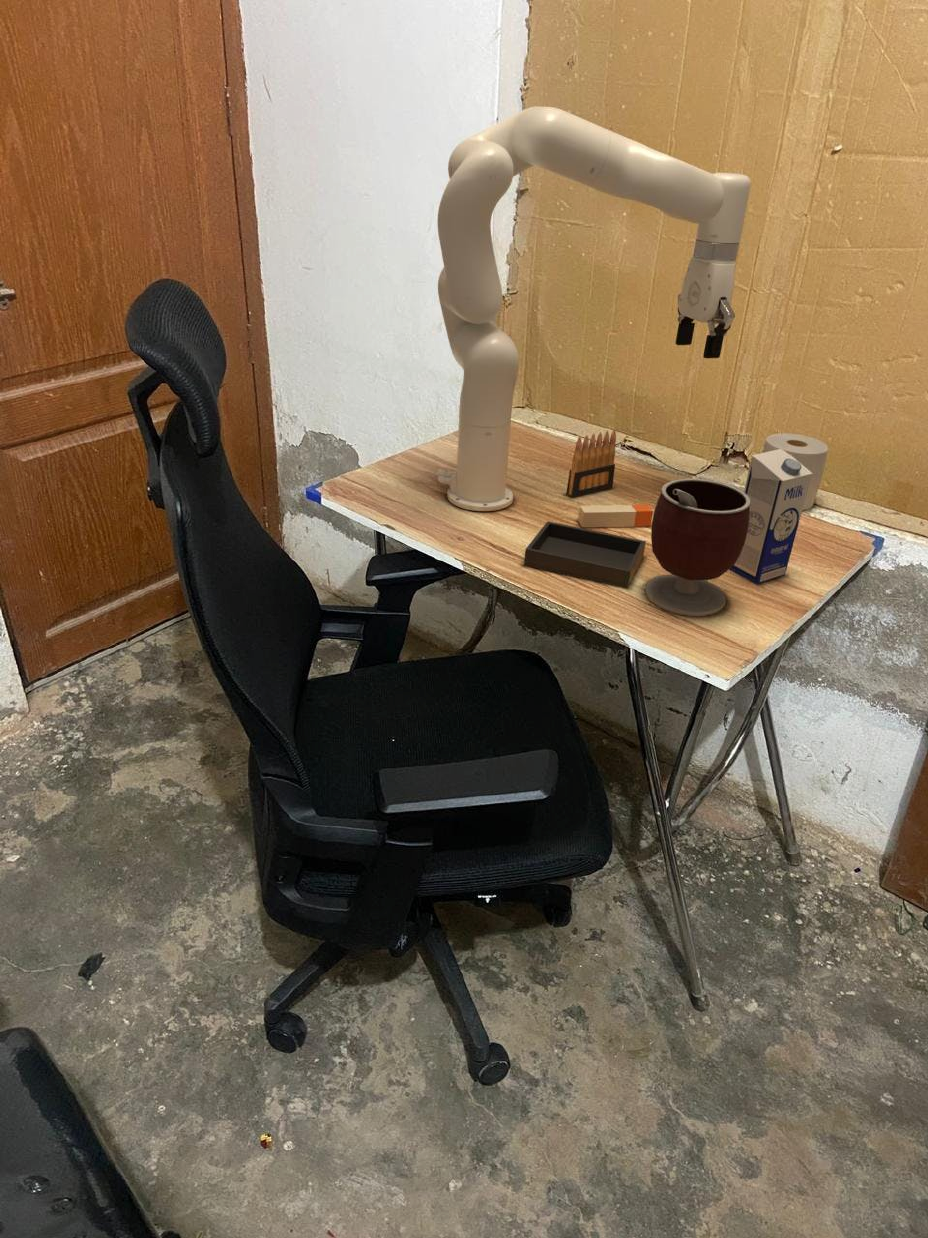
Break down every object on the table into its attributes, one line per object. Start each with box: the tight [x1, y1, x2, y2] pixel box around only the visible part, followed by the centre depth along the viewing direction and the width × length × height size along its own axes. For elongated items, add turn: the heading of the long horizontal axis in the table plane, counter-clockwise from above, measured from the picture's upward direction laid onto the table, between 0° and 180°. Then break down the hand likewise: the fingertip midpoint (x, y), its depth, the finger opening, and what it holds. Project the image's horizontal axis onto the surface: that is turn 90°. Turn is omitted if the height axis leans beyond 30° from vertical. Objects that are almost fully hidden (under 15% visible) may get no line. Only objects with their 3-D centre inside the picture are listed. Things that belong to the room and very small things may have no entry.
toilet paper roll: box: [761, 432, 829, 511], centre depth 170 cm, size 12×12×12 cm
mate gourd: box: [645, 478, 750, 617], centre depth 130 cm, size 16×14×20 cm
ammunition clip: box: [566, 429, 617, 499], centre depth 169 cm, size 11×2×12 cm, turn 124°
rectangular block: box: [577, 503, 654, 529], centre depth 158 cm, size 13×3×3 cm, turn 98°
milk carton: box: [729, 449, 813, 585], centre depth 140 cm, size 7×7×20 cm
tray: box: [523, 521, 647, 589], centre depth 144 cm, size 17×12×3 cm
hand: (696, 350), depth 161 cm, fingers open, 9 cm apart
